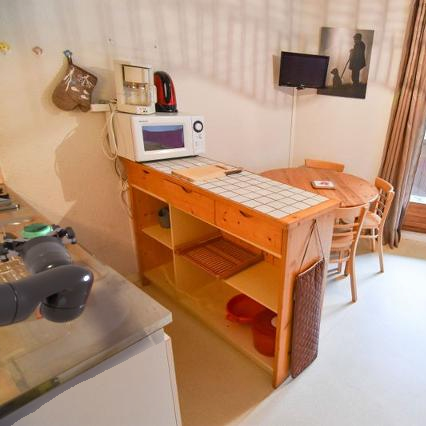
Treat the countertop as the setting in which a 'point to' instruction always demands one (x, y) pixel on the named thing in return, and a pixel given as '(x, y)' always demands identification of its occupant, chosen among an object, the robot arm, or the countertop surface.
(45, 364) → the countertop surface
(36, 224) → the cup
